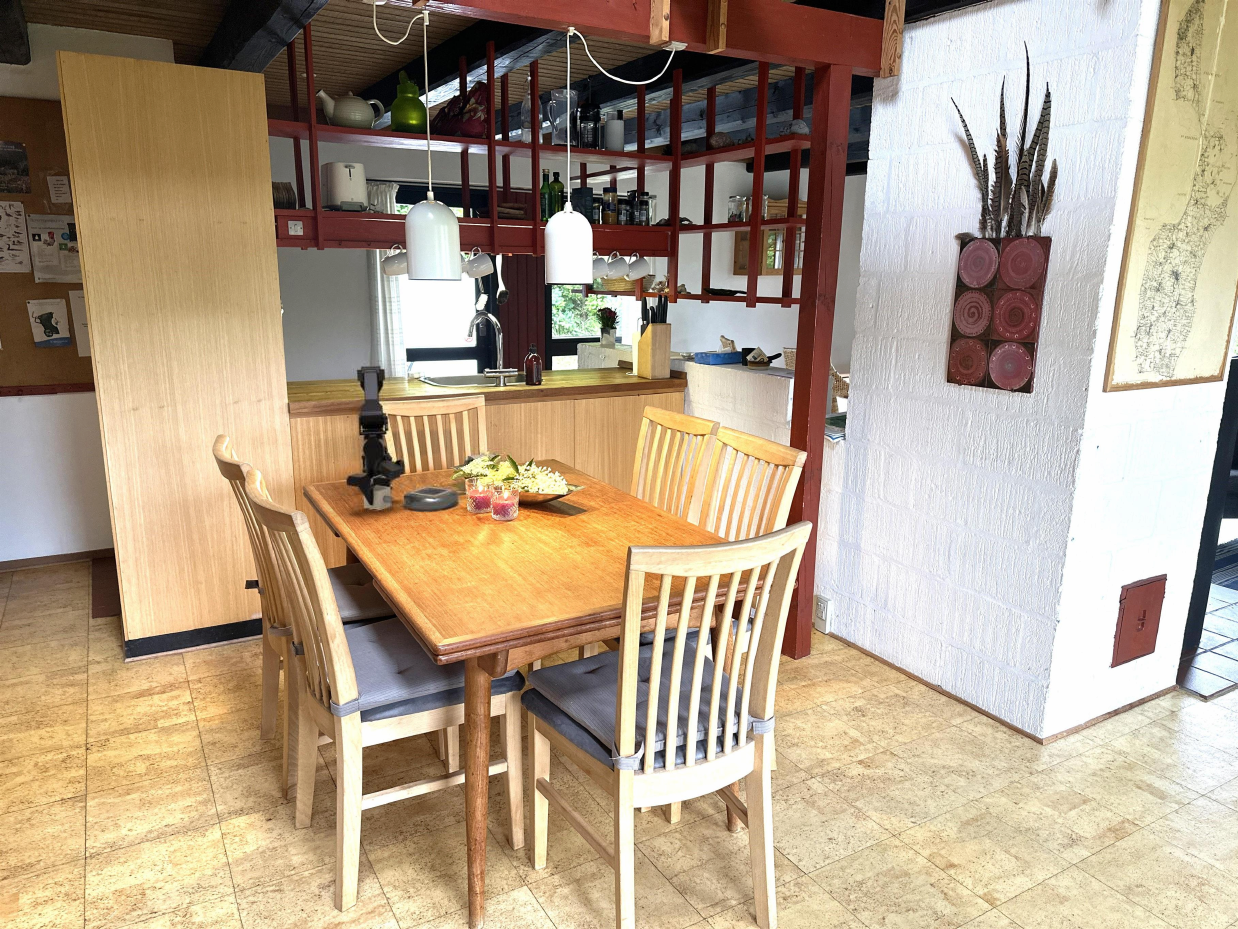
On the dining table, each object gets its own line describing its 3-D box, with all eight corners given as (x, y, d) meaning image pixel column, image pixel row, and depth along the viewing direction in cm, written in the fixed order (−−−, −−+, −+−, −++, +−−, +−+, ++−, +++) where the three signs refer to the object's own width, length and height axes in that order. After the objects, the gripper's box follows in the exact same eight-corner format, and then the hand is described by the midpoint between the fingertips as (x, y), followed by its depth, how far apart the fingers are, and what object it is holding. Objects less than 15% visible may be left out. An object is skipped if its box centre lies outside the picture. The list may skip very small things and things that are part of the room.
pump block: (364, 508, 252) (363, 488, 250) (375, 504, 256) (374, 484, 255) (385, 511, 248) (384, 491, 247) (396, 507, 253) (395, 487, 251)
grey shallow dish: (392, 507, 253) (392, 494, 252) (427, 494, 267) (426, 482, 266) (436, 514, 246) (435, 500, 245) (469, 501, 260) (468, 488, 259)
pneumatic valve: (464, 489, 273) (463, 453, 271) (498, 485, 279) (497, 449, 276) (469, 493, 269) (468, 456, 266) (504, 489, 274) (503, 452, 271)
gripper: (373, 460, 237) (377, 514, 241) (416, 448, 253) (419, 498, 257) (343, 457, 242) (347, 509, 245) (387, 445, 258) (390, 494, 262)
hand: (377, 503), depth 252 cm, fingers closed on pump block, 5 cm apart
